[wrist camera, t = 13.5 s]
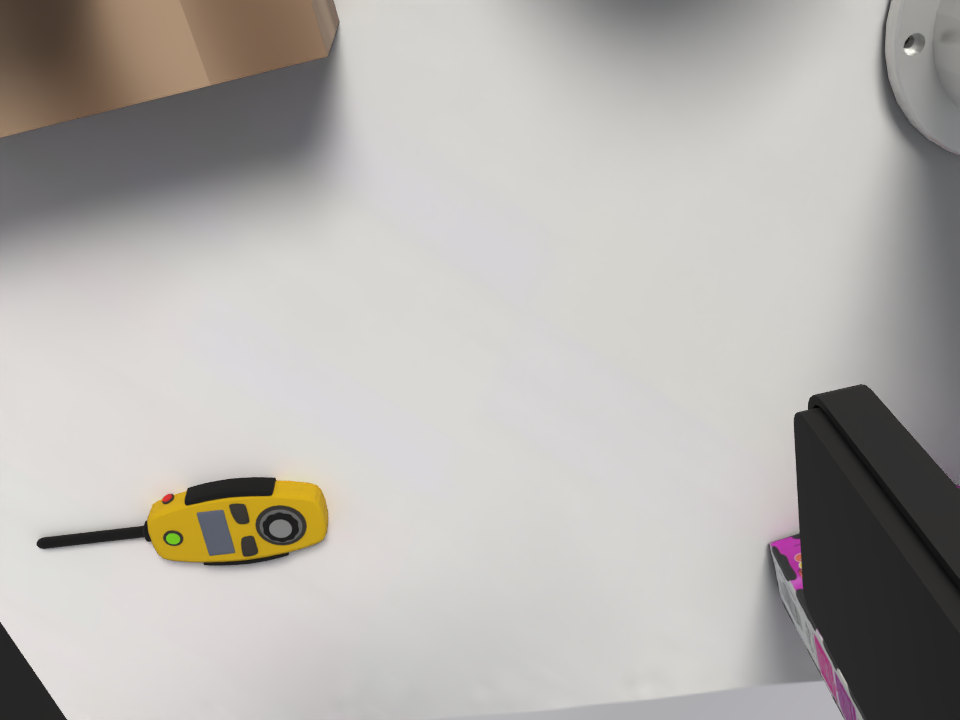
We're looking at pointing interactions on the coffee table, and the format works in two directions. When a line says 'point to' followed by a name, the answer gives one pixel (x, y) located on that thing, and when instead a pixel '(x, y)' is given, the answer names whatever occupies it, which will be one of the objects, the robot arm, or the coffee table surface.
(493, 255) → the coffee table surface
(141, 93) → the socket block
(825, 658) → the candy bar box
